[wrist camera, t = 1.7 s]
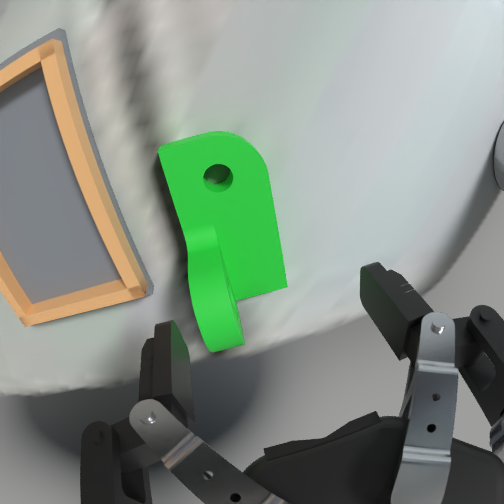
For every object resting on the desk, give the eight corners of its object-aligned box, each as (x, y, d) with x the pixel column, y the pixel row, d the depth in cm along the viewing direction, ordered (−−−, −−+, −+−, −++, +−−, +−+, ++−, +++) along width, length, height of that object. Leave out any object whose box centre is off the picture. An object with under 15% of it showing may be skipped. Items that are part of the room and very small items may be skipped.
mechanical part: (280, 272, 25) (312, 344, 18) (208, 291, 25) (217, 370, 18) (252, 121, 19) (288, 145, 12) (161, 145, 18) (141, 183, 12)
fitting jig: (65, 30, 13) (49, 25, 11) (153, 285, 23) (151, 306, 21) (-53, 112, 12) (-73, 118, 10) (40, 316, 23) (31, 335, 21)
